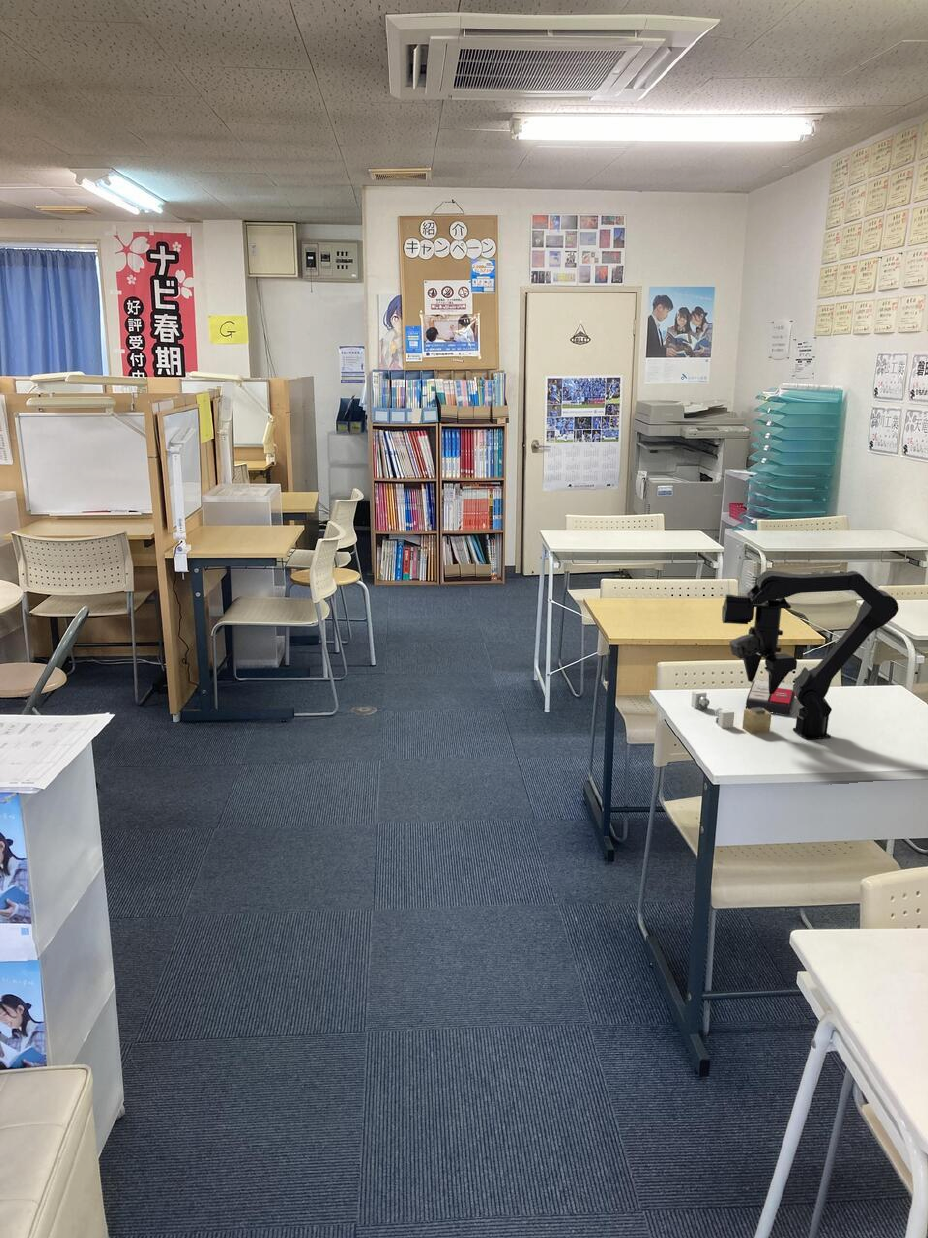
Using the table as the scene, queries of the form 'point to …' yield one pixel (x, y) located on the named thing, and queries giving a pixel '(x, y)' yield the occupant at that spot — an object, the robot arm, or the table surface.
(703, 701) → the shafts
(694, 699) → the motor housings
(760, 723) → the tan block
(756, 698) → the red and grey box
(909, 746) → the table surface
